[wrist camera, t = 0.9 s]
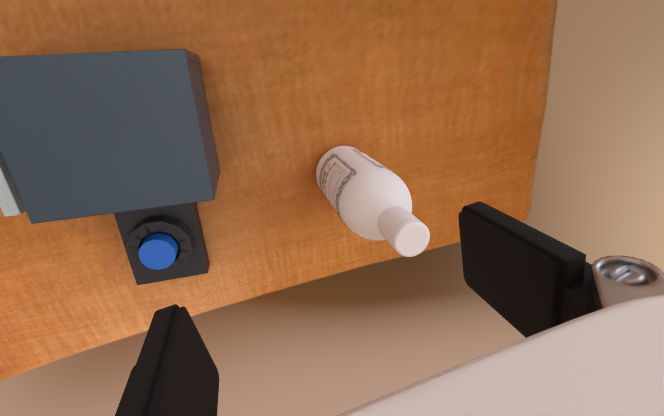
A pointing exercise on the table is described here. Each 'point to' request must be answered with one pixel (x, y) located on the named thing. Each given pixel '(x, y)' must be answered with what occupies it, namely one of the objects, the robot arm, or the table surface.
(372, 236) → the bath foam
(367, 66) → the table surface
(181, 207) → the panel
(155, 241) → the button
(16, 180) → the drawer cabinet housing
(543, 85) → the table surface
